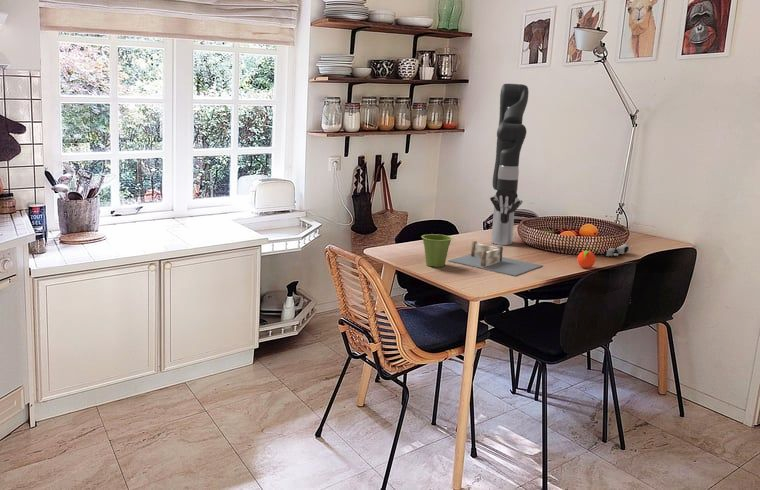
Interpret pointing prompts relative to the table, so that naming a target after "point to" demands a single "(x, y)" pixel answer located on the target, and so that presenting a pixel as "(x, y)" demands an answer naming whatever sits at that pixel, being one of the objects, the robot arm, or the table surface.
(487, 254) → the swinging fence section
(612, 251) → the robot toy
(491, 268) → the card
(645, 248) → the table surface
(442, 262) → the plant pot
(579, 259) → the clementine
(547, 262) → the table surface
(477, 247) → the fixed fence section
